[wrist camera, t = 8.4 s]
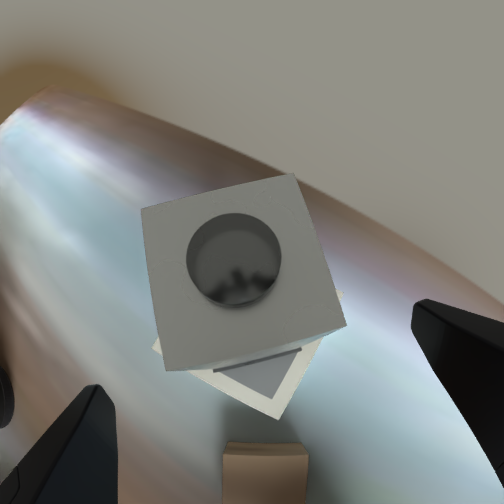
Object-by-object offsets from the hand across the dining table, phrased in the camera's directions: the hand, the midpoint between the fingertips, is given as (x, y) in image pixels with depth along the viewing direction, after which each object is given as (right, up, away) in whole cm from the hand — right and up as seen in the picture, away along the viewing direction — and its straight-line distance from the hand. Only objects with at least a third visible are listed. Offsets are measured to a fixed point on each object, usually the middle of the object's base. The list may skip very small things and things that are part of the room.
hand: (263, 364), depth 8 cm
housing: (-1, -1, +11) cm, 11 cm away
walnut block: (+1, -12, +10) cm, 16 cm away
